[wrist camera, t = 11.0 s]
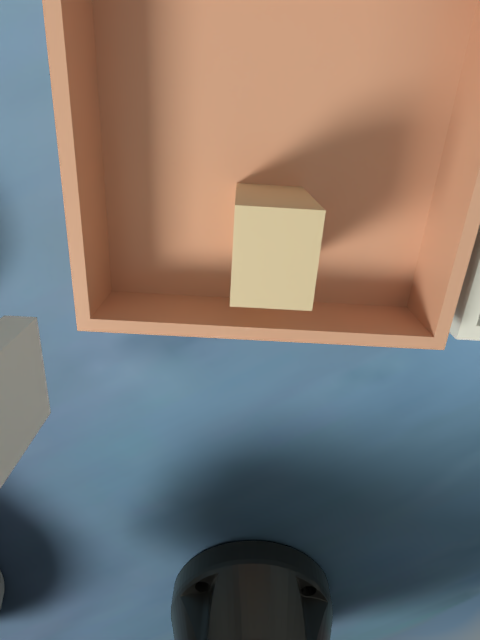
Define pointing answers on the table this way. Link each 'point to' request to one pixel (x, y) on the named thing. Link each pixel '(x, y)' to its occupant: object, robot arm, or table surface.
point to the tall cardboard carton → (275, 247)
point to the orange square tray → (268, 159)
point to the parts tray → (469, 300)
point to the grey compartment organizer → (1, 588)
